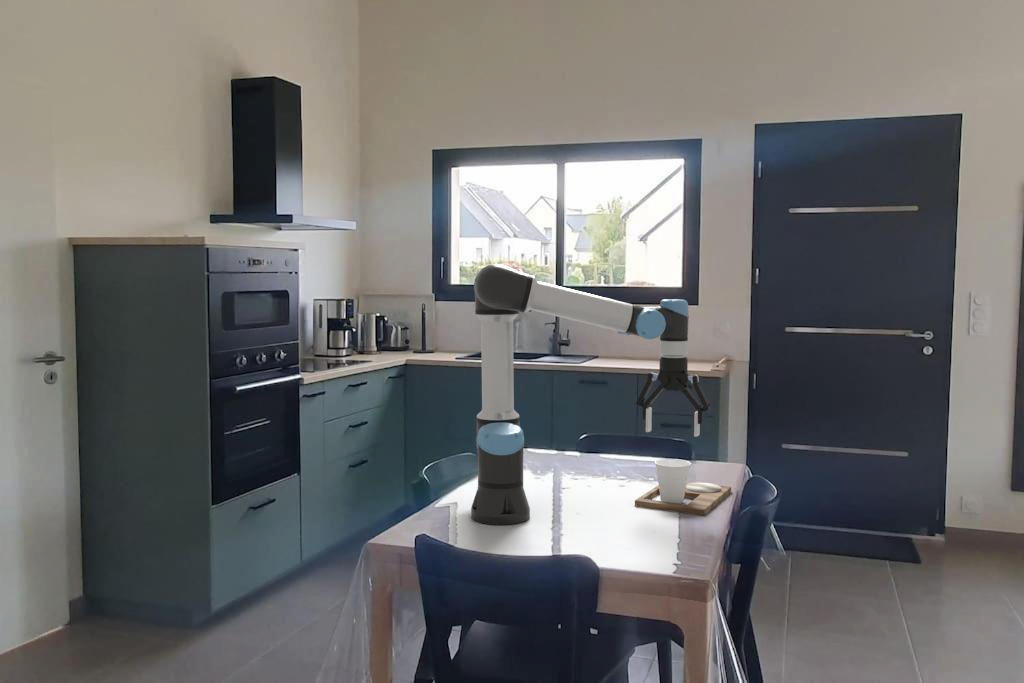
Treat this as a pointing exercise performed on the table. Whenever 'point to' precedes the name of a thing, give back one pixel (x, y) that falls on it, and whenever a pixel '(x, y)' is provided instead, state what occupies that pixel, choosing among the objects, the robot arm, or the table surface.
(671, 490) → the cup
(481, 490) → the robot arm
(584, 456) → the table surface
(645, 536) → the table surface
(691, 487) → the board
